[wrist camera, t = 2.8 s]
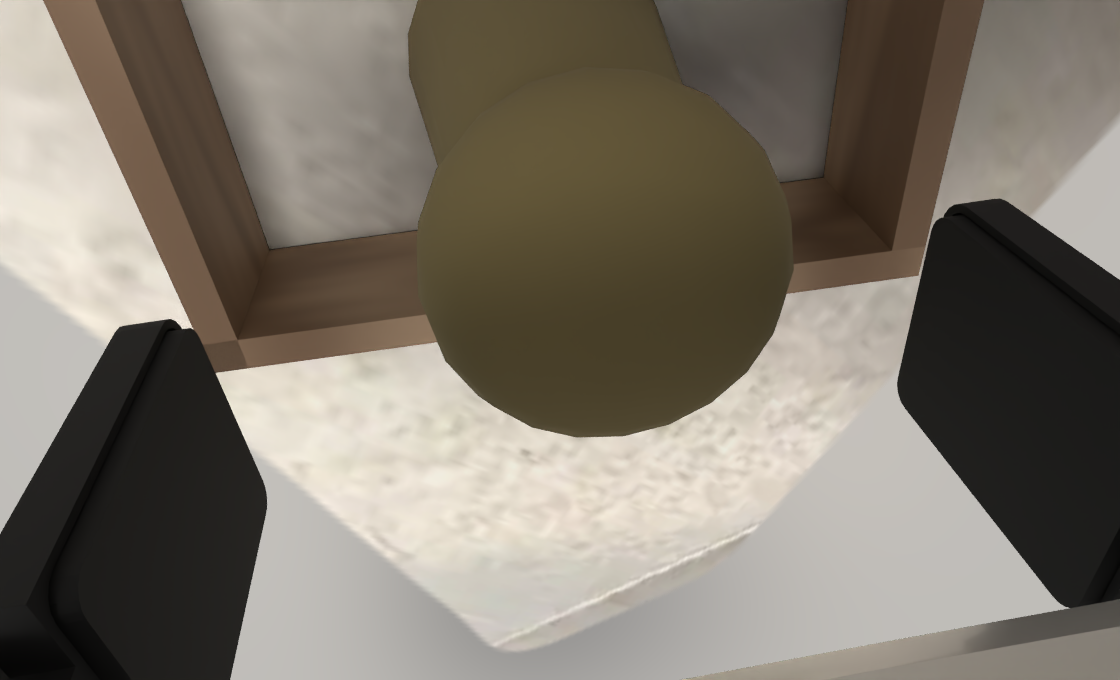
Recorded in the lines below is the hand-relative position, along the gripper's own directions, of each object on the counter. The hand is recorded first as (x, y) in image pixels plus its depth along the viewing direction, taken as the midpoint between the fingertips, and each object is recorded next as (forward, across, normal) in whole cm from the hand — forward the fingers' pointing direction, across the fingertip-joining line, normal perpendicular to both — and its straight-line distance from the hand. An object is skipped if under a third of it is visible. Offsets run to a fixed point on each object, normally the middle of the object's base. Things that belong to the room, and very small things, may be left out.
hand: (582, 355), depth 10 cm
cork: (+11, -1, -1) cm, 11 cm away
